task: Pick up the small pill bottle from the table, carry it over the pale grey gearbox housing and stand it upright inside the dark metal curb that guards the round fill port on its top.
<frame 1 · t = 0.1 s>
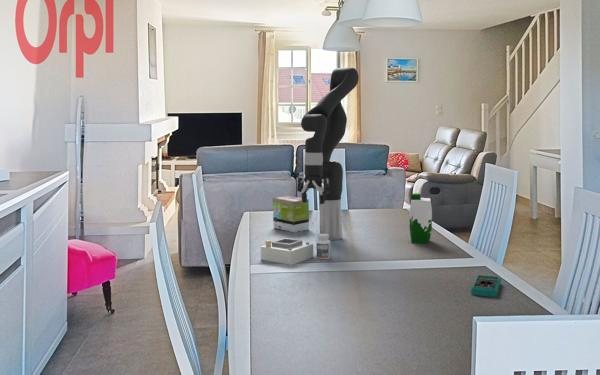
hand: (313, 203, 239), 17 cm above the table, tool pointing down, fingers open, 8 cm apart
gearbox housing: (287, 258, 219), on the table
milk carton: (420, 242, 245), on the table
digital multimeter: (486, 291, 178), on the table
pill bottle: (323, 258, 219), on the table
tea box: (291, 229, 275), on the table
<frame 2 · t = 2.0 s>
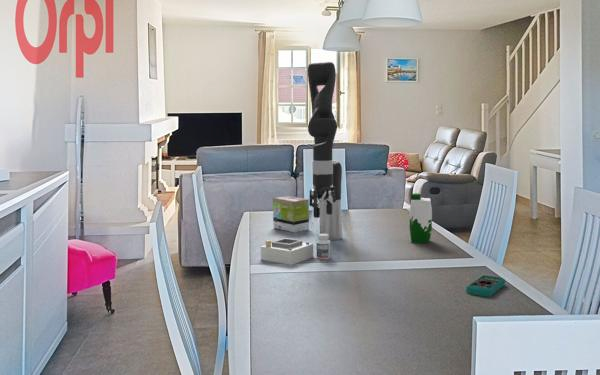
hand: (323, 215, 217), 16 cm above the table, tool pointing down, fingers open, 8 cm apart
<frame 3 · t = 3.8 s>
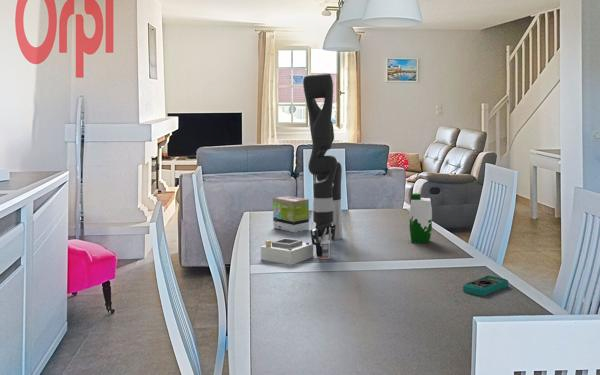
hand: (323, 253, 219), 1 cm above the table, tool pointing down, fingers closed on pill bottle, 5 cm apart
pill bottle: (323, 258, 219), on the table, touching gripper
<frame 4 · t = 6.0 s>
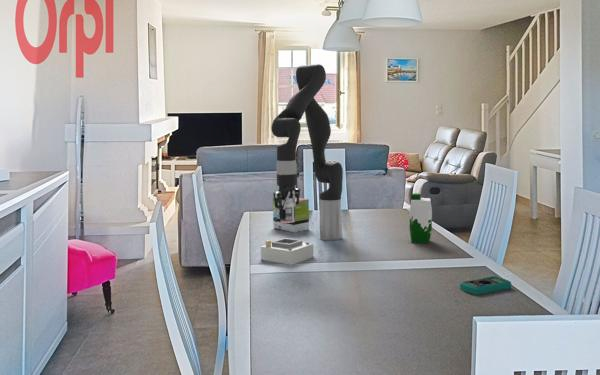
hand: (287, 217, 217), 15 cm above the table, tool pointing down, fingers closed on pill bottle, 5 cm apart
pill bottle: (287, 222, 217), point 14 cm above the table, touching gripper
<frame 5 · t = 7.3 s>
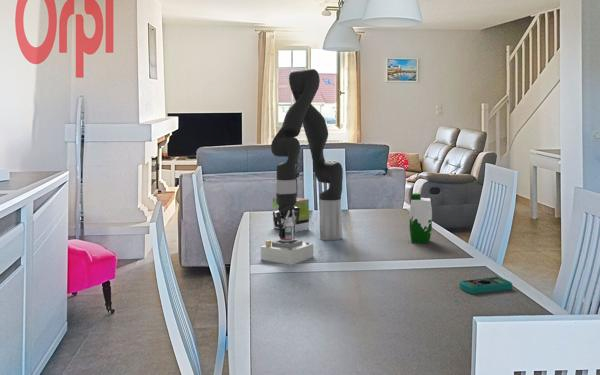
hand: (287, 236, 218), 8 cm above the table, tool pointing down, fingers closed on pill bottle, 5 cm apart
pill bottle: (287, 240, 218), point 7 cm above the table, touching gripper
when the fingers open (8 cm above the table, at t = 8.1 s): pill bottle drops 1 cm, resting on gearbox housing.
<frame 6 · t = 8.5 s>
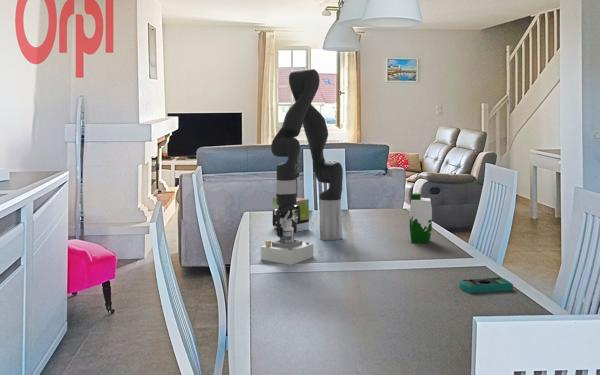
hand: (287, 235, 218), 9 cm above the table, tool pointing down, fingers open, 8 cm apart
pill bottle: (287, 245, 218), point 5 cm above the table, touching gearbox housing
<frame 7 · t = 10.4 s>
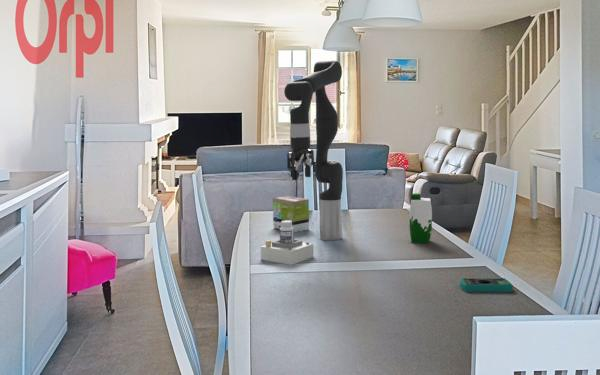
hand: (301, 178, 222), 29 cm above the table, tool pointing down, fingers open, 8 cm apart
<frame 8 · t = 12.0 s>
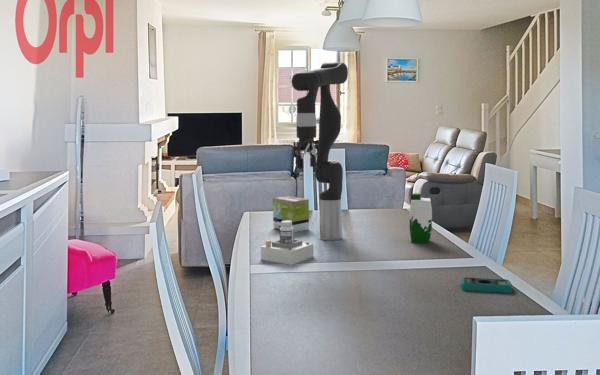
hand: (306, 167, 224), 33 cm above the table, tool pointing down, fingers open, 8 cm apart
at the end: pill bottle 0.1 cm off-centre on the gearbox housing, point 5.0 cm above the gearbox housing's base; pill bottle tilted 0°; the gripper is holding nothing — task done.
